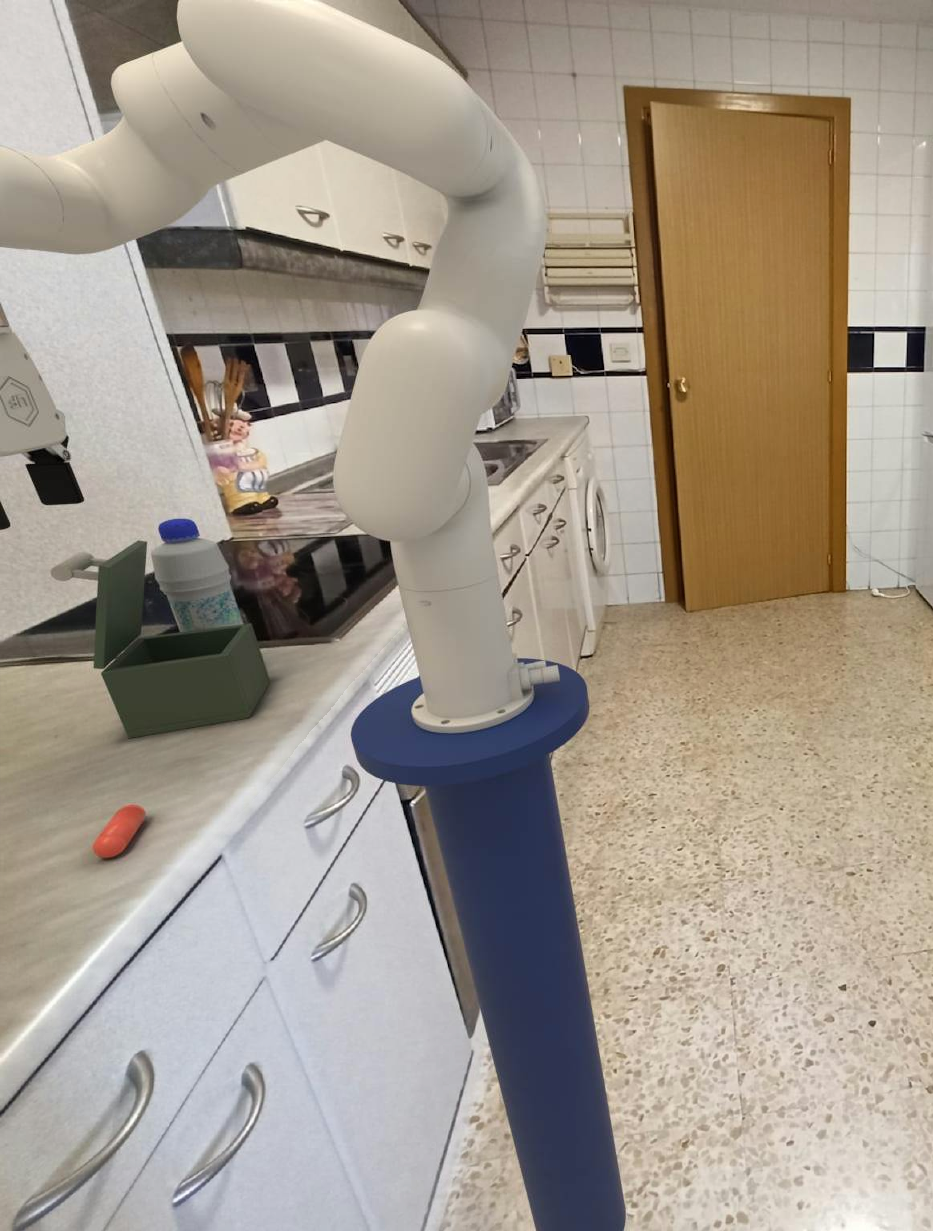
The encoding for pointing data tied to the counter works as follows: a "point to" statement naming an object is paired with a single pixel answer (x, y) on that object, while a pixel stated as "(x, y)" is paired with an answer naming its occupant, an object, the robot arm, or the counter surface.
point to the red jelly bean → (119, 831)
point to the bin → (187, 679)
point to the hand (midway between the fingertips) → (28, 516)
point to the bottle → (194, 578)
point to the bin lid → (112, 597)
